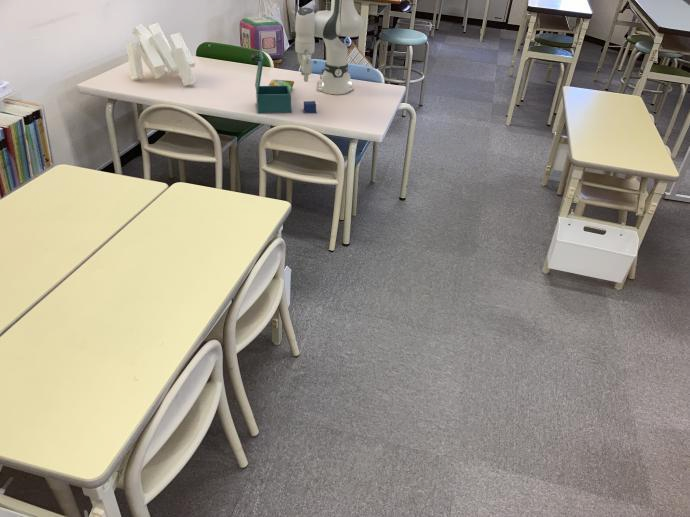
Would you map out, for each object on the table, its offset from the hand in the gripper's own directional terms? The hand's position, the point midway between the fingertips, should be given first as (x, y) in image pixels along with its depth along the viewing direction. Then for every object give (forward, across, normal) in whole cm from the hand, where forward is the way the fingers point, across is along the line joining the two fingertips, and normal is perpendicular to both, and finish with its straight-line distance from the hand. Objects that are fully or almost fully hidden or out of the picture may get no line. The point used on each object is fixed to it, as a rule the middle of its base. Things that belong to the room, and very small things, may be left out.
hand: (304, 78), depth 258 cm
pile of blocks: (+16, +48, +68) cm, 85 cm away
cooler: (+16, +5, +14) cm, 22 cm away
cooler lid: (-1, +5, +20) cm, 21 cm away
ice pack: (+16, 0, -3) cm, 16 cm away
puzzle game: (+16, +24, +9) cm, 31 cm away
